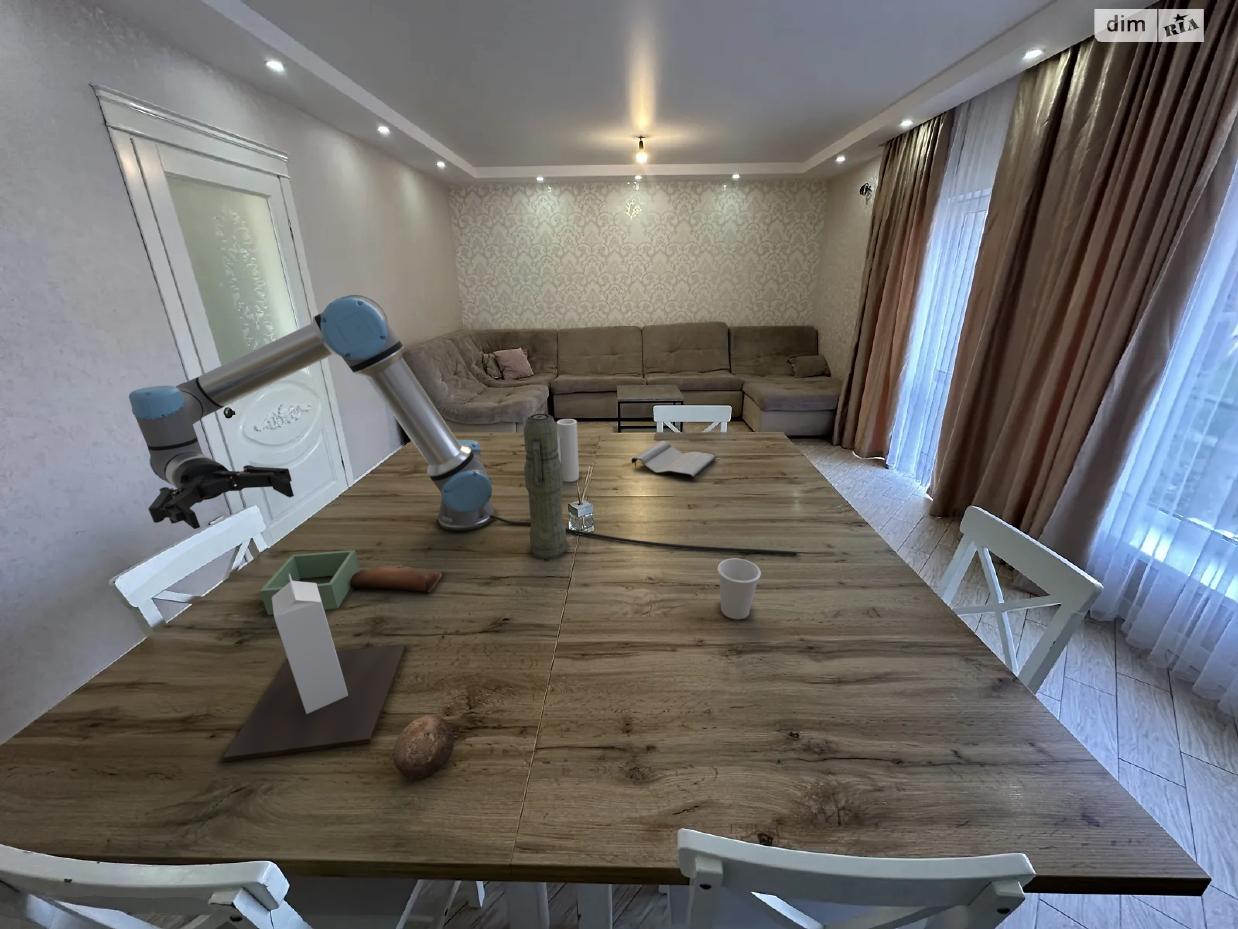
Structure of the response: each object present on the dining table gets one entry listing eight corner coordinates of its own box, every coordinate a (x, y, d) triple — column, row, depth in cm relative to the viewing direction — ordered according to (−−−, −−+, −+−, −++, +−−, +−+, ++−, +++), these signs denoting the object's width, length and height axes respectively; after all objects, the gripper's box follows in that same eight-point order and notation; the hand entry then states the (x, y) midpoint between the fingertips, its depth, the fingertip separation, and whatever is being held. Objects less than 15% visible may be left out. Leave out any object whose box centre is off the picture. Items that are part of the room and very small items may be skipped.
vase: (579, 473, 168) (577, 418, 161) (578, 482, 162) (576, 424, 154) (546, 474, 168) (542, 419, 160) (544, 483, 161) (540, 425, 154)
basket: (360, 571, 114) (355, 549, 112) (337, 608, 101) (331, 584, 99) (298, 576, 112) (291, 554, 110) (267, 615, 100) (259, 591, 97)
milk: (306, 715, 76) (266, 600, 68) (302, 690, 80) (264, 579, 72) (349, 695, 79) (316, 584, 71) (343, 673, 84) (311, 565, 75)
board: (405, 648, 91) (404, 643, 90) (370, 743, 72) (369, 738, 72) (291, 660, 88) (289, 655, 88) (224, 762, 70) (222, 757, 69)
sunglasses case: (444, 571, 113) (434, 558, 108) (435, 600, 109) (424, 588, 103) (372, 567, 115) (358, 554, 109) (360, 596, 110) (345, 584, 105)
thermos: (567, 536, 128) (560, 409, 115) (564, 561, 117) (556, 423, 104) (534, 537, 128) (523, 409, 115) (528, 562, 117) (515, 424, 104)
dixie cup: (732, 628, 95) (736, 586, 91) (706, 604, 102) (709, 564, 98) (764, 615, 98) (769, 574, 95) (737, 593, 105) (741, 554, 102)
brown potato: (406, 713, 73) (408, 706, 69) (458, 724, 75) (463, 717, 70) (384, 775, 68) (384, 771, 63) (440, 785, 70) (444, 782, 65)
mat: (693, 482, 161) (693, 469, 159) (631, 469, 172) (631, 457, 170) (716, 460, 179) (717, 448, 178) (659, 450, 190) (659, 438, 189)
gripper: (277, 473, 102) (327, 497, 91) (117, 520, 83) (155, 558, 72) (267, 439, 100) (318, 460, 88) (99, 480, 80) (136, 513, 69)
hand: (245, 504), depth 80 cm, fingers open, 13 cm apart
